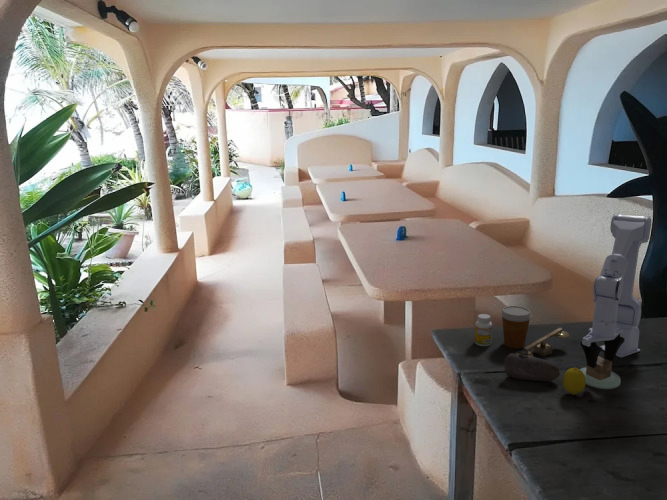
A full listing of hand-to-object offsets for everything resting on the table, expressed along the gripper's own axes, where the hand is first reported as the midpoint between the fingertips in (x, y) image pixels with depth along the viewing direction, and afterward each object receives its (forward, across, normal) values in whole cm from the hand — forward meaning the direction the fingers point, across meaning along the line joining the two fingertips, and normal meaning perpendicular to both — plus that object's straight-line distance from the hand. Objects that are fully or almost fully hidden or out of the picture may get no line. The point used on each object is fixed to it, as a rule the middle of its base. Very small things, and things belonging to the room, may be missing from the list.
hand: (600, 363), depth 148 cm
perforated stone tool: (+5, +16, -10) cm, 20 cm away
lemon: (+5, +13, +2) cm, 14 cm away
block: (+4, 0, 0) cm, 4 cm away
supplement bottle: (+5, +11, -35) cm, 37 cm away
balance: (+5, 0, -20) cm, 21 cm away
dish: (+5, 0, 0) cm, 5 cm away
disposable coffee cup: (+5, +3, -29) cm, 30 cm away
